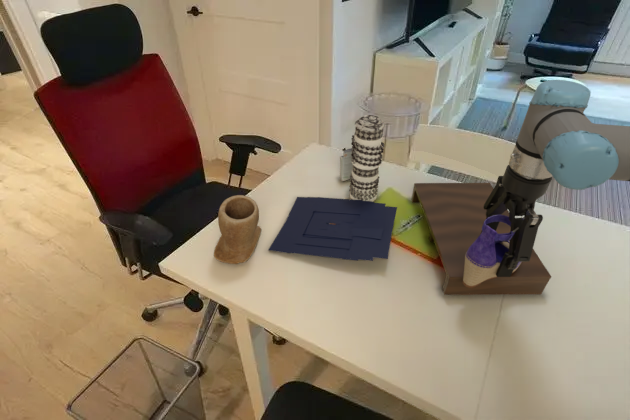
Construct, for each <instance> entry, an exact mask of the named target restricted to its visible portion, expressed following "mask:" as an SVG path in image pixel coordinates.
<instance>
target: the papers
mask: <svg viewBox="0 0 630 420" xmlns="http://www.w3.org/2000/svg"><path fill="white" fill-rule="evenodd" d="M386 205H387V204H386V203H384V202H375V201H373V202H372V201H363V200H352V199H351V198H335V197H320V196H315V197H314V196H297V197H296V198H295V201H294V203H293V205H292V207H291V209H290V211H289V214H288V216H287V218H286V219H285V221H284V224H283V225H282V227H281V228H280V230H279V232H278V233H277V235H276V237H275V238H274V240H273V242H272V243H271V244H270V246H269V248H268V251H272V252H278V253H283V254H296V255H297V254H298V255H305V256H315V257H324V258H332V259H339V260H340V259H341V260H347V261H356V262H357V261H359V260H360V261H369V262H371V261H372V262H373V261H374V259H384V260H388V259H389V254H390V249H391V242H392V236H393V230H394V225H395V221H396V215H397V210H398V206H388V205H387V206H386Z"/></svg>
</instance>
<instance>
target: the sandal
mask: <svg viewBox="0 0 630 420" xmlns="http://www.w3.org/2000/svg"><path fill="white" fill-rule="evenodd" d="M491 222H503V223H506V224H508V225H509V226H510V227H511V222H510V221H509V217H508V216H505V215H493V216H491V217H488V218H487V219H486V220H485V221H484V224H483V226H482V233H481V234H480V236H479V237H478V238H477V239H476V240H475V242H474V243H473V244H472V245H471V246H470V247H469V249H468V251H467V252H466V254H465V266H464V276H463V284H464V285H465V286H466V287H469V288H472V287H475V286H477V285H479V284H481V283H482V282H484V281H486V280H489V279H493V278H496V277H497V276H496V272H497V270H498V268H499V266H500V263H501V261H502V259H503V256H504V254H505V252H509V242H510V241H508V240H510V239H511V238H512V236H513V235H514V234H515V232H516V230H518V229H519V228H518V227H517V228H516V229H515V230H513V231H511V232H509V233H504V234H498V233H497V232H496V231H495V230H493V229H492V228H490V227H489V226H488V225H487V226H486V224H488V223H491ZM521 263H522V262H519V263H518V265H517V267H516V268H515V269H514V270H513V272H515V271H516V269H517V268H518V267H519V266H520V264H521ZM513 272H512V273H513Z"/></svg>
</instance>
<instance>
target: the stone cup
mask: <svg viewBox="0 0 630 420" xmlns="http://www.w3.org/2000/svg"><path fill="white" fill-rule="evenodd" d="M259 212H260V209H259V206H258V204H257V202H256V200H254V198H251V197H249V196H248V195H243V194H237V195H232V196H230V197H227V198H226V199H224V200H223V202H222V203H221V204H220V206H219V209H218V213H217V220H218V221H217V222H218V228H219V232H220V237H219V239H218V241H217V244H216V245H215V247H214V250H213V257H214V259H216V260H217V261H219V262H222V263H224V264H230V265H237V264H243V263H246V262H247V261H248V260H249V259H250V258H251V256H252V255H253V253H254V252H255V249H256V247H257V244H258V241H259V238H260V236H261V233H262V227H260V226H259V225H258V224H259V222H260V221H259V220H260V213H259Z"/></svg>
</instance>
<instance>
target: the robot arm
mask: <svg viewBox="0 0 630 420" xmlns="http://www.w3.org/2000/svg"><path fill="white" fill-rule="evenodd" d="M590 98H591V90H590V88H588V87H587V86H586V85H583V84H582V83H578V82H575V81H573V80H572V81H570V80H565V79H549V80H544V81H543V82H540V83H539V84H538V85H537V86H536V88H535V91H534V93H533V96H532V97H531V100H530V101H529V102H528V104H529V105H528V107H527V111H526V113H525V117H524V119H523V122H522V125H521V127H520V131H519V133H518V135H517V138H516V141H515V145H514V147H513V149H512V150H513V151H512V153H511V154H510V156H509V157H510V158H509V160H508V165H506V168H505V171H504V172H503V175H498V176H497V180H496V183H495V185H494V187H493V190H492V192H491V194H490V195H489V197H488V199H487V200H486V202H485V204H484V206H483V208H484V209H486V210H487V212H486V219H487V218H488V217H491V216H493V215H501V214H502V213H504V212H505V211H506V210H508V211H509V221H510V222H511V230H510V232H511V231H513V230H515V229H516V228H517V227H518V228H519V229H518V230H516V232H515V234H514V235H513V236H512V238H511V239H510V242H509V252H505V254H504V256H503V259H502V261H501V263H500V266H499V268H498V270H497V272H496V276H497V277H510V276H511V274H512V272H513V270H514V269H515V268H516V267H517V265H518V263H519V262H529V261H530V258H531V254H532V250H533V249H534V246H535V242H536V238H537V235H538V231H539V227H540V225H541V224H542V222H543V219H544V216H543V214H537V213H536V211H535V207H536V201H537V200H538V199H540V198H541V197H543V196H544V195H545V194H546V192H547V190H548V189H549V186H550V184H551V182H552V180H553V178H554V180H555V181H556V182H557V183H558V184H559V185H560V186H562V187H563V188H566V189H569V190H574V191H583V190H586V189H590V188H596V187H599V186H601V185H603V184H605V183H606V182H608V181H610V180H611V181H620V182H630V125H619V124H604V123H603V124H602V123H594V122H592V121H591V120H590V118H588V117H587V116H586V114H585V113H584V112H585V110H586V109H587V108H588V106H589V105H588V104H589V100H590ZM498 224H499V222H491V223H488V224H486V226H487V225H488V226H489V227H490V228H492V229H493V230H495V231H496V229H497V227H498ZM481 233H482V231H481Z"/></svg>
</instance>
